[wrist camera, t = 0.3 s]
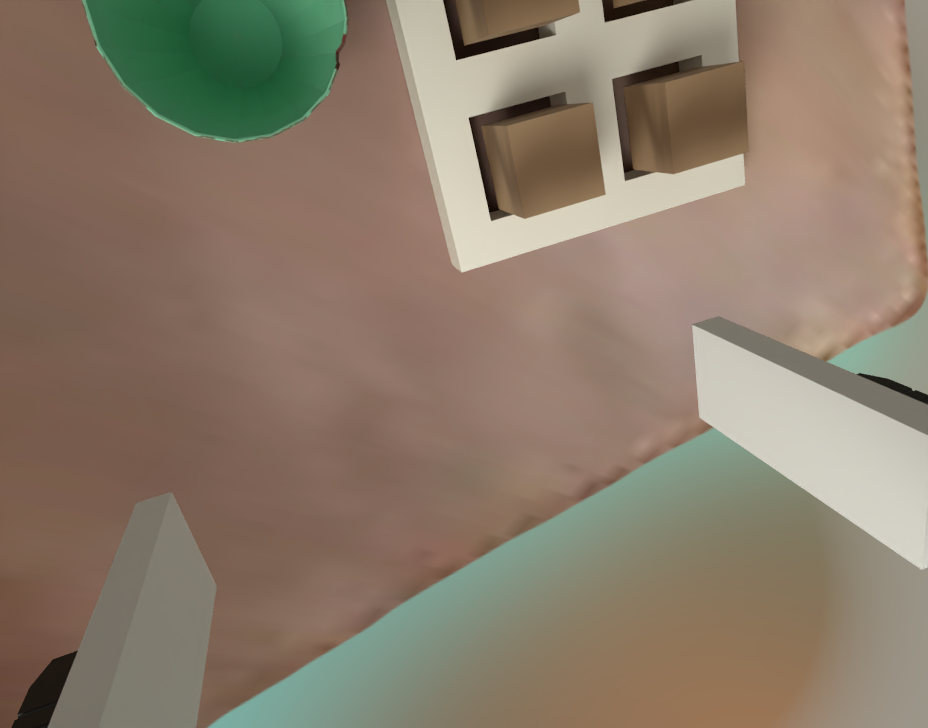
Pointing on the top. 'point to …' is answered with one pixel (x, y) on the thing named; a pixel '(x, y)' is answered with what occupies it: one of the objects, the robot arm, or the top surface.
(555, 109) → the button
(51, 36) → the top surface
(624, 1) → the button
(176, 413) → the top surface
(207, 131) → the mug
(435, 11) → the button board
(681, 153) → the button
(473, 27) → the button
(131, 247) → the top surface
